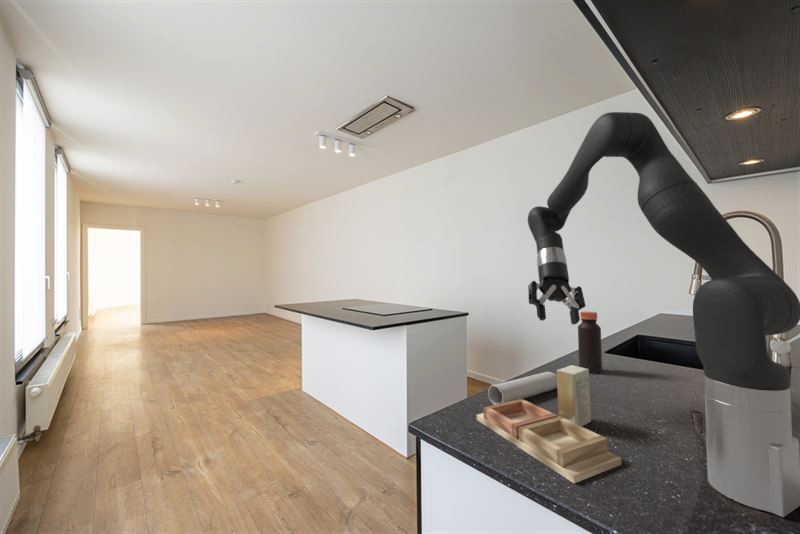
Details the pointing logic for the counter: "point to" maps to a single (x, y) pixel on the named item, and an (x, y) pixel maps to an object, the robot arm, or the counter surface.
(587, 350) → the vinegar
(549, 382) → the tube
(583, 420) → the skincare box
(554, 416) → the two-compartment wooden tray
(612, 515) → the counter surface
